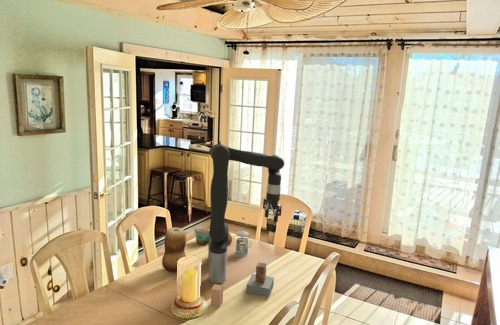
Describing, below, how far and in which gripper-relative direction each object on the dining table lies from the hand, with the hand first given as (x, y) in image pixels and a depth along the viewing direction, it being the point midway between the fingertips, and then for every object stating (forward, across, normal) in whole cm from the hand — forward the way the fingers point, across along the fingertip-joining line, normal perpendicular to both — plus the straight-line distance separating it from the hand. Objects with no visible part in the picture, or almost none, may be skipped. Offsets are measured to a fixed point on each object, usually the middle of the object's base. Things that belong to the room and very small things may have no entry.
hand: (270, 219), depth 198 cm
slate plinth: (+33, +12, -12) cm, 37 cm away
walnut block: (+28, +12, -12) cm, 33 cm away
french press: (+34, -29, +2) cm, 44 cm away
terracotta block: (+34, +13, -38) cm, 53 cm away
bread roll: (+34, -52, 0) cm, 62 cm away
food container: (+35, -54, -15) cm, 66 cm away
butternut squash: (+35, -28, -44) cm, 63 cm away
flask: (+34, -28, -18) cm, 48 cm away
